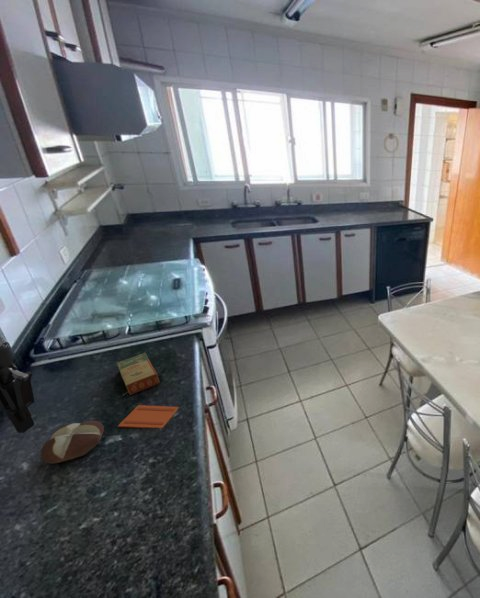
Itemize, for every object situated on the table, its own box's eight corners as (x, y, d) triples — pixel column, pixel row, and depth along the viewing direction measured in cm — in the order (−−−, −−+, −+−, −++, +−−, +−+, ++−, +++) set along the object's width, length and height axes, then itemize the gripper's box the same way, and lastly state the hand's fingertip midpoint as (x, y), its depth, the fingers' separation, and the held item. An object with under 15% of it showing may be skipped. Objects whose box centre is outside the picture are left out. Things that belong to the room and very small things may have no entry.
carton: (129, 396, 100) (124, 385, 99) (119, 372, 110) (114, 361, 108) (161, 383, 106) (157, 372, 104) (149, 361, 116) (145, 351, 114)
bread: (34, 468, 78) (24, 454, 75) (67, 430, 88) (59, 417, 85) (89, 461, 80) (81, 446, 78) (115, 424, 90) (108, 411, 88)
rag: (118, 427, 90) (117, 425, 90) (138, 406, 97) (138, 404, 97) (162, 428, 91) (162, 427, 90) (180, 407, 98) (179, 406, 98)
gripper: (30, 340, 75) (67, 418, 85) (-30, 337, 74) (14, 416, 84) (-6, 359, 68) (39, 441, 78) (-72, 356, 68) (-19, 439, 77)
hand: (26, 428), depth 81 cm, fingers closed
